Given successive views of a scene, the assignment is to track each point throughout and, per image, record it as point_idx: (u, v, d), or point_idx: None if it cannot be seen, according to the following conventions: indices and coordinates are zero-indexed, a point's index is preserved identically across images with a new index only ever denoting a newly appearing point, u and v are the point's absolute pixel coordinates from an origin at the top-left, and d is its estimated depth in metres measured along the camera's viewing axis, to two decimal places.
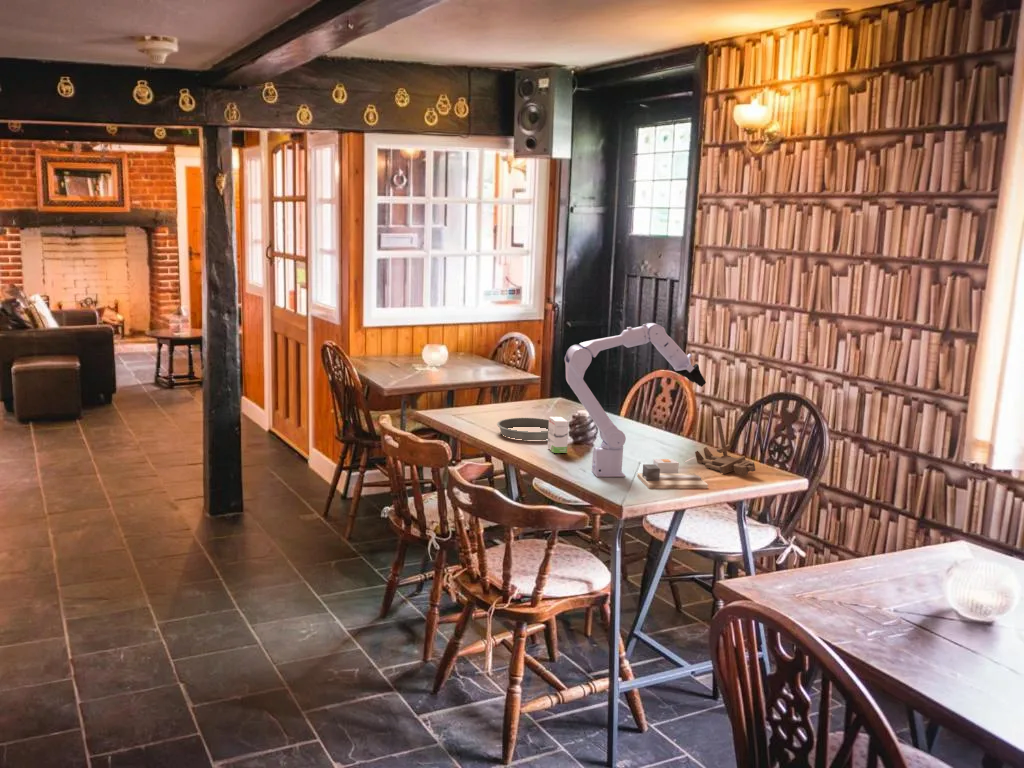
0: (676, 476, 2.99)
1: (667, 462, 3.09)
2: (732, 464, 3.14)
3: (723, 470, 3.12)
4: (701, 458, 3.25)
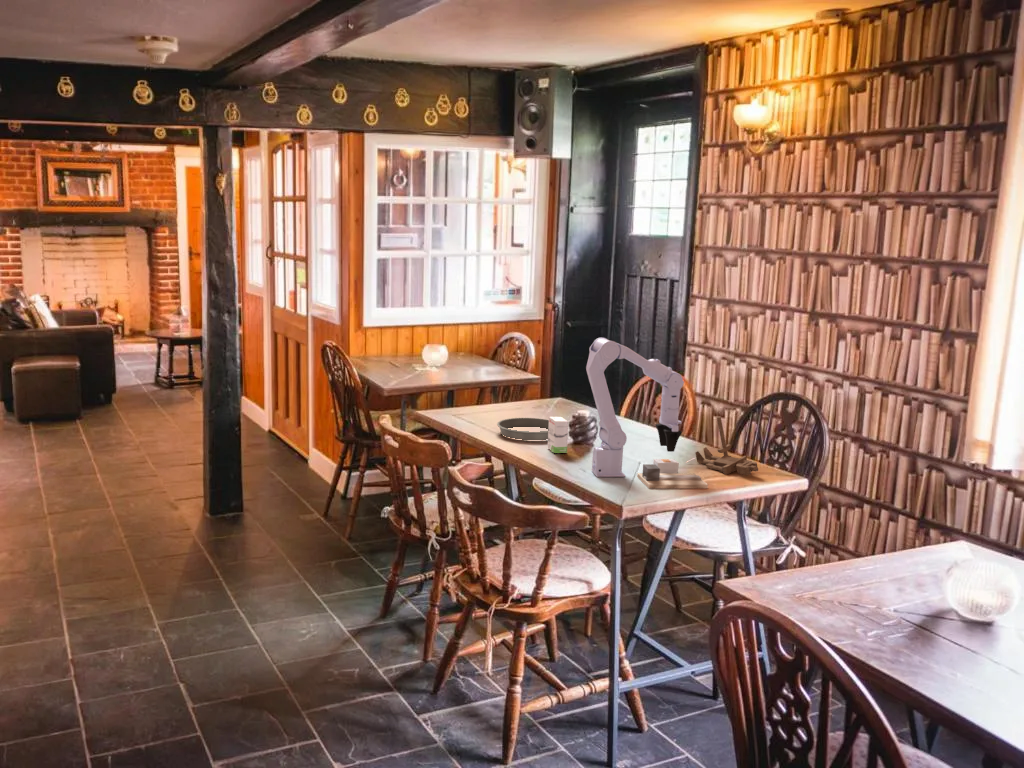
0: (676, 476, 2.99)
1: (667, 462, 3.09)
2: (734, 464, 3.14)
3: (726, 470, 3.12)
4: (701, 458, 3.25)
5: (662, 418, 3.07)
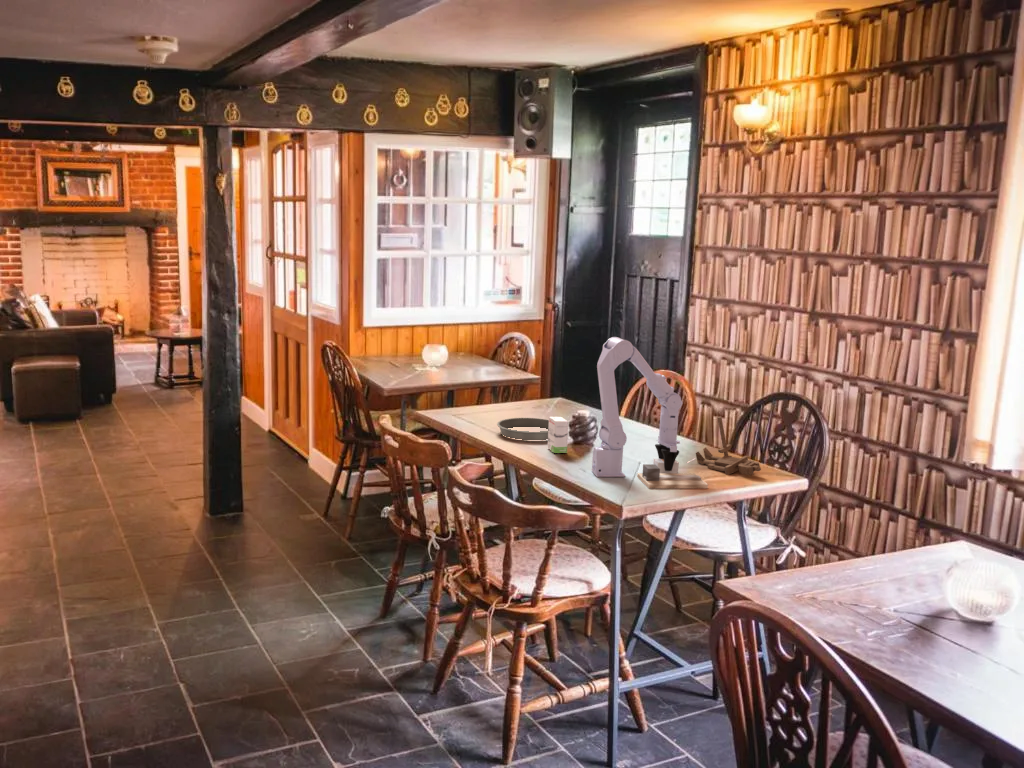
0: (676, 476, 2.99)
1: None
2: (736, 464, 3.14)
3: (728, 470, 3.12)
4: (702, 459, 3.24)
5: (661, 438, 3.08)
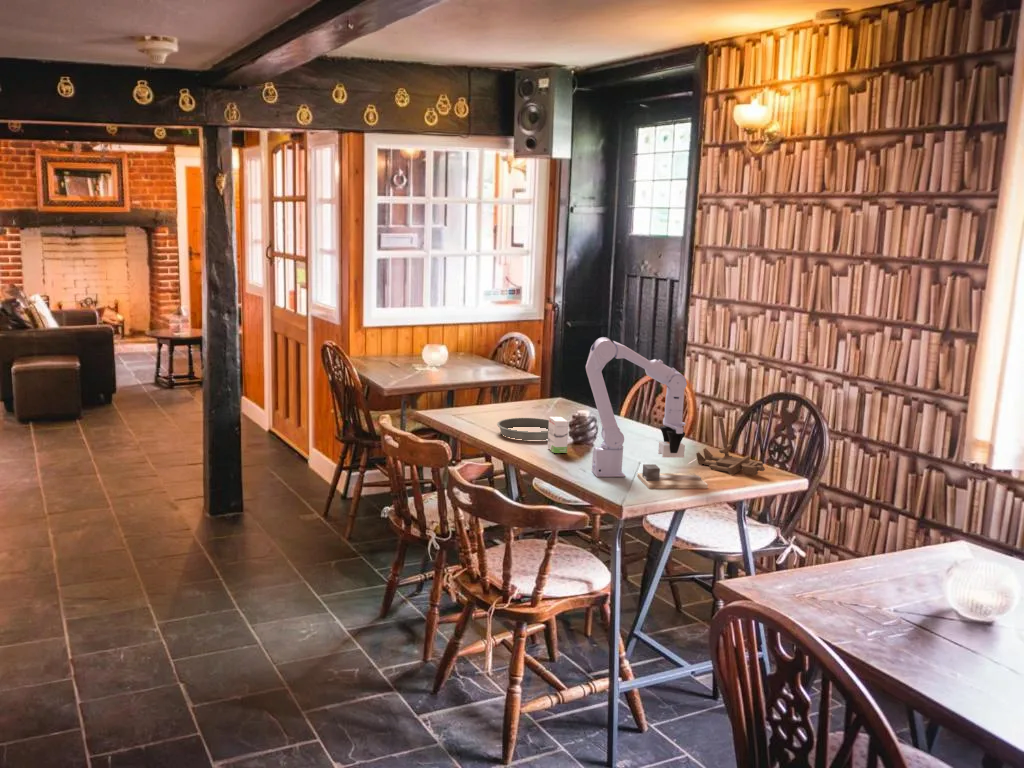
0: (676, 476, 2.99)
1: None
2: (739, 464, 3.14)
3: (732, 471, 3.12)
4: (703, 459, 3.24)
5: (666, 420, 3.03)
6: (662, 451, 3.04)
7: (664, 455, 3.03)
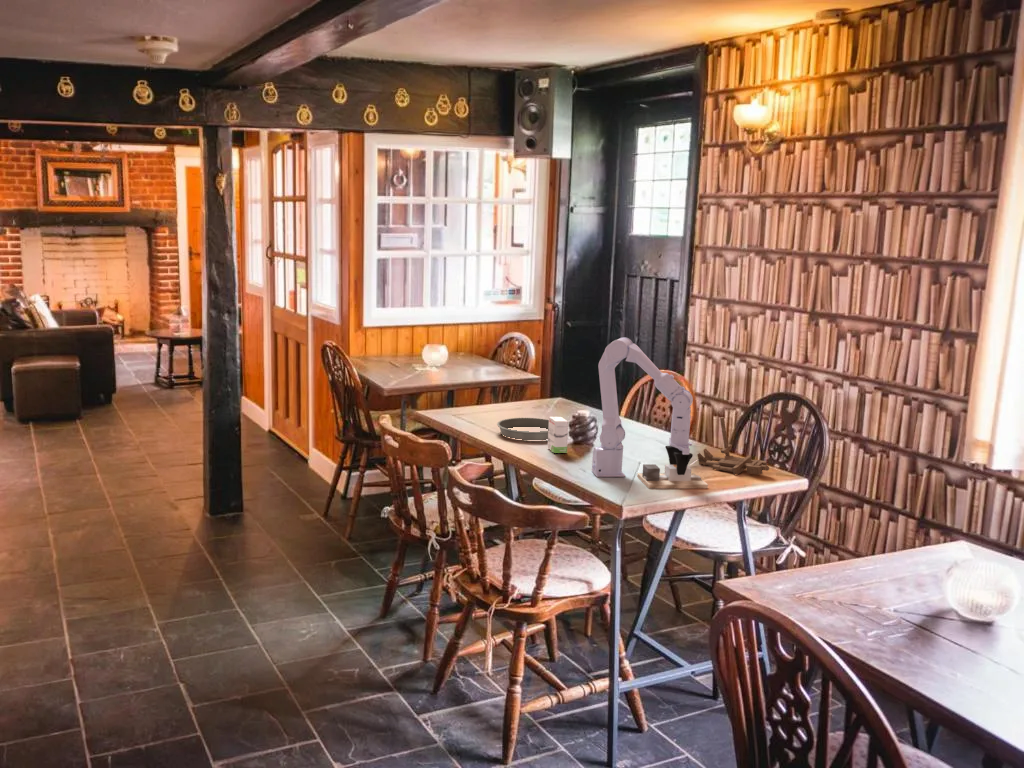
0: None
1: None
2: (743, 464, 3.14)
3: (736, 471, 3.12)
4: (704, 460, 3.23)
5: (672, 440, 2.96)
6: (668, 474, 2.97)
7: (670, 479, 2.97)
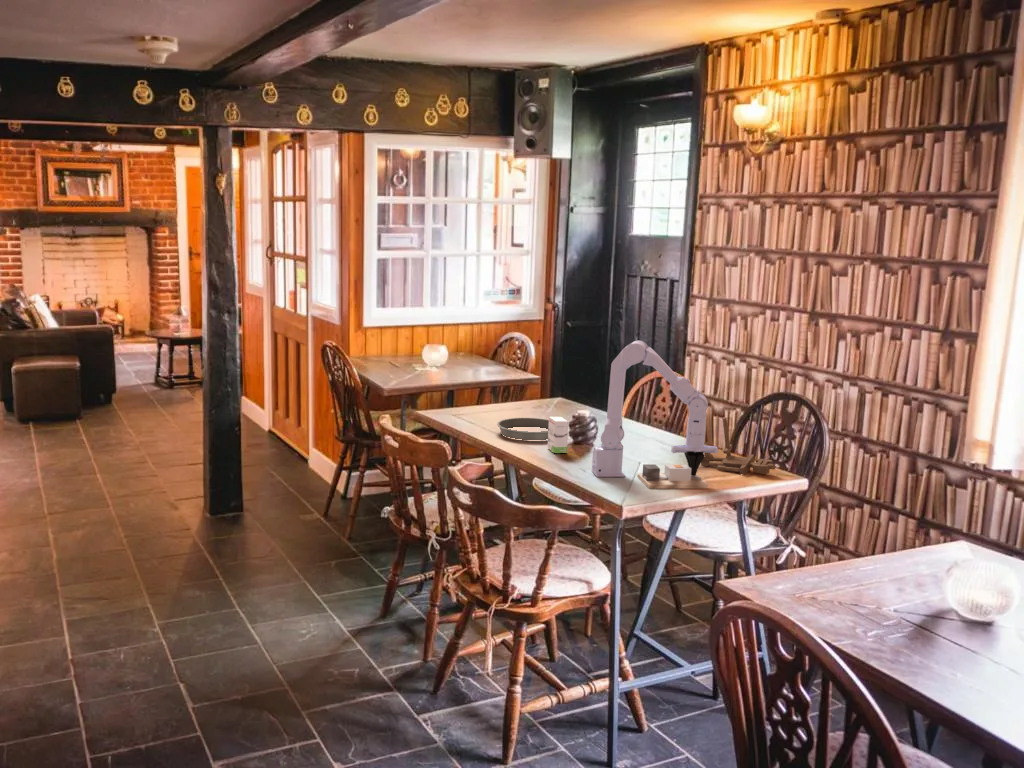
0: None
1: (679, 468, 2.97)
2: (748, 464, 3.15)
3: (743, 471, 3.12)
4: (707, 461, 3.22)
5: None
6: (668, 474, 2.97)
7: (670, 479, 2.97)
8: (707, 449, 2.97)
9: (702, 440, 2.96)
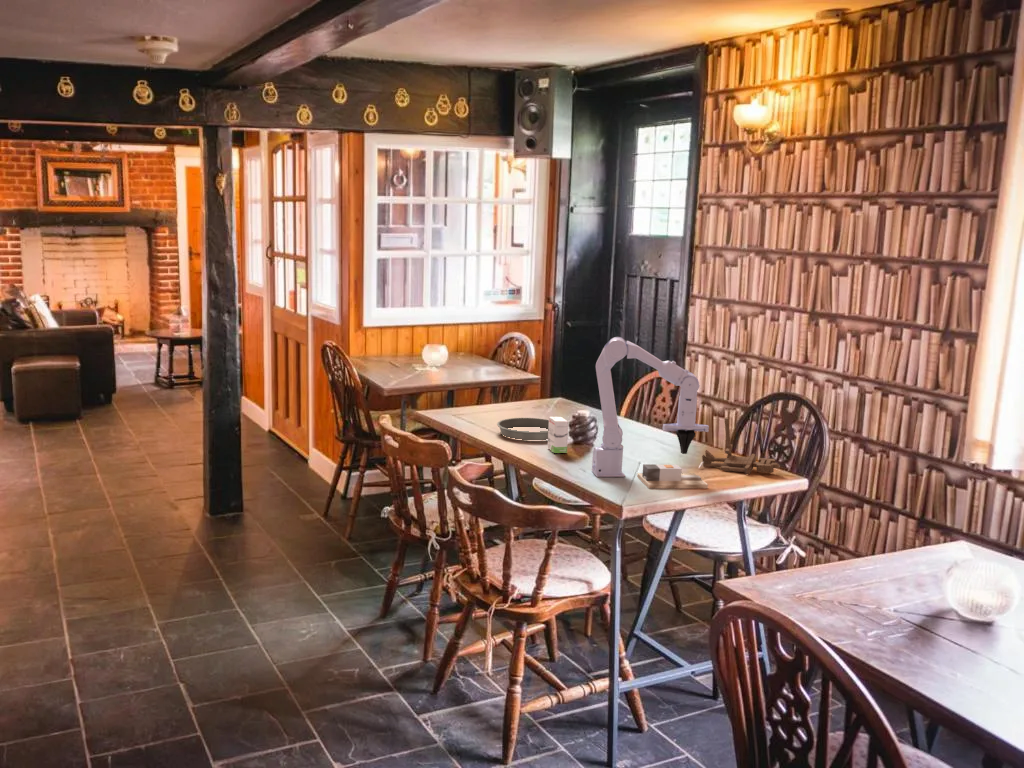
0: None
1: (670, 468, 2.97)
2: (751, 464, 3.16)
3: (748, 471, 3.13)
4: (709, 461, 3.21)
5: None
6: None
7: (660, 479, 2.96)
8: (698, 427, 3.00)
9: (694, 418, 2.99)
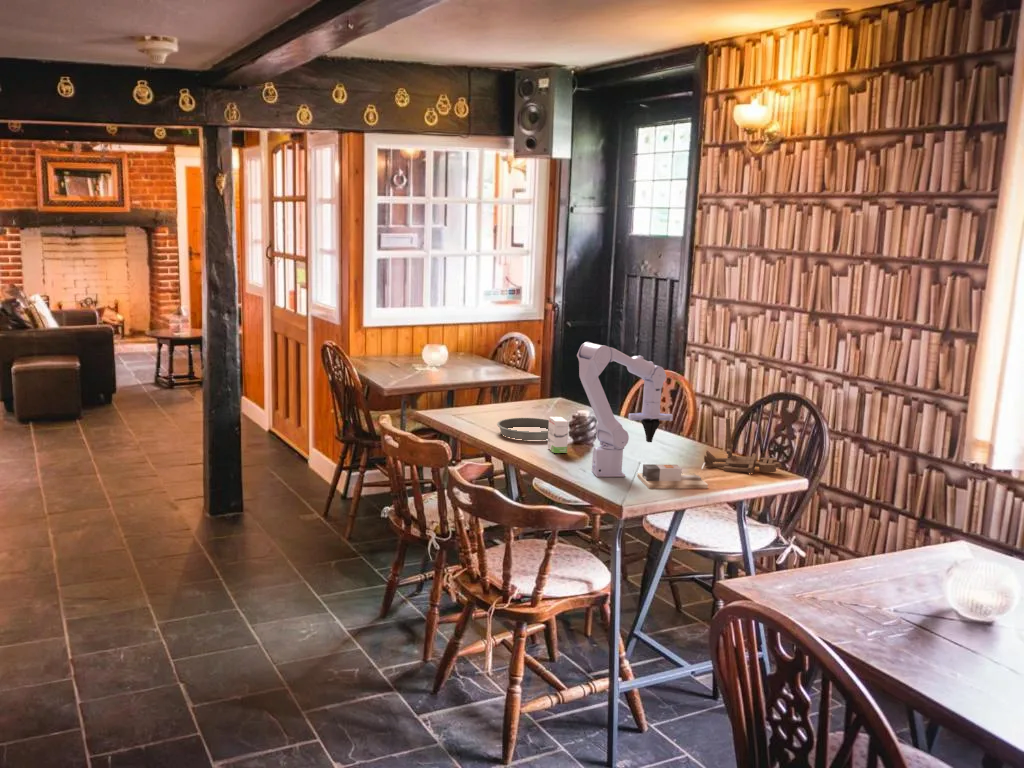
0: None
1: (670, 468, 2.97)
2: (754, 463, 3.16)
3: (751, 471, 3.13)
4: (711, 462, 3.20)
5: None
6: None
7: (660, 479, 2.96)
8: (662, 416, 3.10)
9: (658, 407, 3.09)
